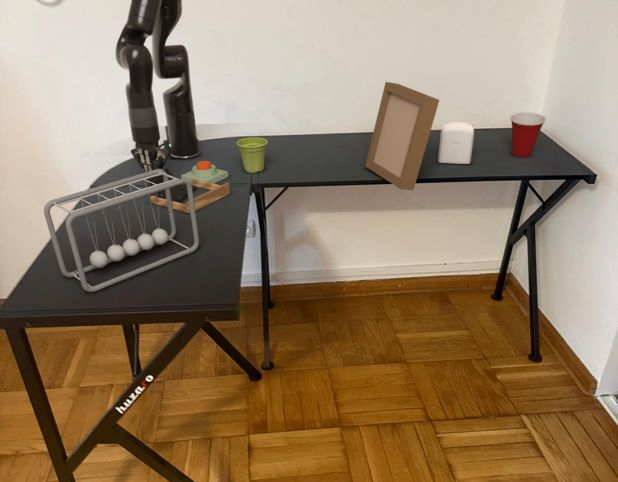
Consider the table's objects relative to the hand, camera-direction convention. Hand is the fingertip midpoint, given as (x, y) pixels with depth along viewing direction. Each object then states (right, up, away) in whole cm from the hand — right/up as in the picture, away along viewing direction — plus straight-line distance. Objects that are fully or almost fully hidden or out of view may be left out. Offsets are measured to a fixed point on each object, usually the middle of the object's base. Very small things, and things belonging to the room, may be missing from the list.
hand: (153, 184), depth 175 cm
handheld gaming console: (+7, -4, -2) cm, 8 cm away
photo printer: (+92, +11, +16) cm, 94 cm away
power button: (+14, +6, +6) cm, 16 cm away
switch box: (+14, +4, +8) cm, 16 cm away
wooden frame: (+12, -5, -5) cm, 14 cm away
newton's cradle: (+5, -29, -37) cm, 47 cm away
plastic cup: (+115, +15, +21) cm, 118 cm away
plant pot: (+28, +8, +14) cm, 32 cm away
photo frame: (+74, +4, +6) cm, 74 cm away
